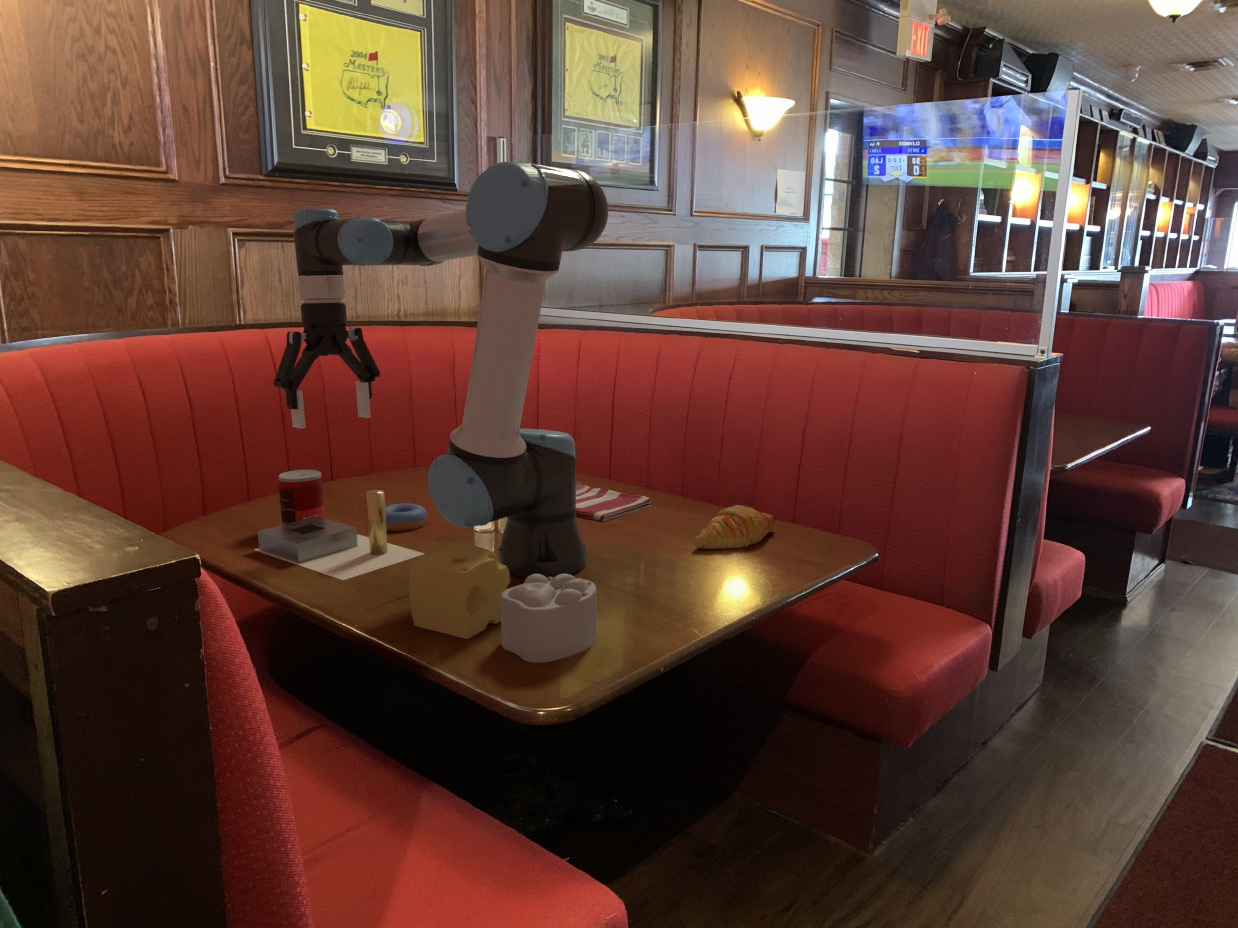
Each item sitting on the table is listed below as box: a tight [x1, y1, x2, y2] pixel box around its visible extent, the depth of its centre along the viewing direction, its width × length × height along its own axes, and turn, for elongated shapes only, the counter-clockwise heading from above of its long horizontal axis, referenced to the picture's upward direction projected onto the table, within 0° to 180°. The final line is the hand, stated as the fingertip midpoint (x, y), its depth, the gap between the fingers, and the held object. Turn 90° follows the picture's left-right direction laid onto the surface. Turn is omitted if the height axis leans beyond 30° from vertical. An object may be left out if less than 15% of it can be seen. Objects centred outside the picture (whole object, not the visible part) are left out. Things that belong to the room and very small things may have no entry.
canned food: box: [277, 469, 325, 525], centre depth 171 cm, size 8×8×11 cm
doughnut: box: [385, 502, 428, 532], centre depth 174 cm, size 10×10×5 cm
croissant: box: [693, 504, 776, 550], centre depth 165 cm, size 21×10×8 cm, turn 132°
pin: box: [365, 489, 388, 555], centre depth 156 cm, size 3×3×11 cm
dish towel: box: [576, 480, 652, 522], centre depth 191 cm, size 17×23×3 cm
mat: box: [253, 533, 425, 581], centre depth 158 cm, size 26×17×1 cm, turn 53°
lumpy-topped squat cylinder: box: [500, 574, 598, 664], centre depth 120 cm, size 10×13×9 cm
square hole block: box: [257, 516, 358, 563], centre depth 159 cm, size 12×12×4 cm
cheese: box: [408, 541, 511, 640], centre depth 127 cm, size 10×11×10 cm
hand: (332, 422), depth 159 cm, fingers open, 13 cm apart
